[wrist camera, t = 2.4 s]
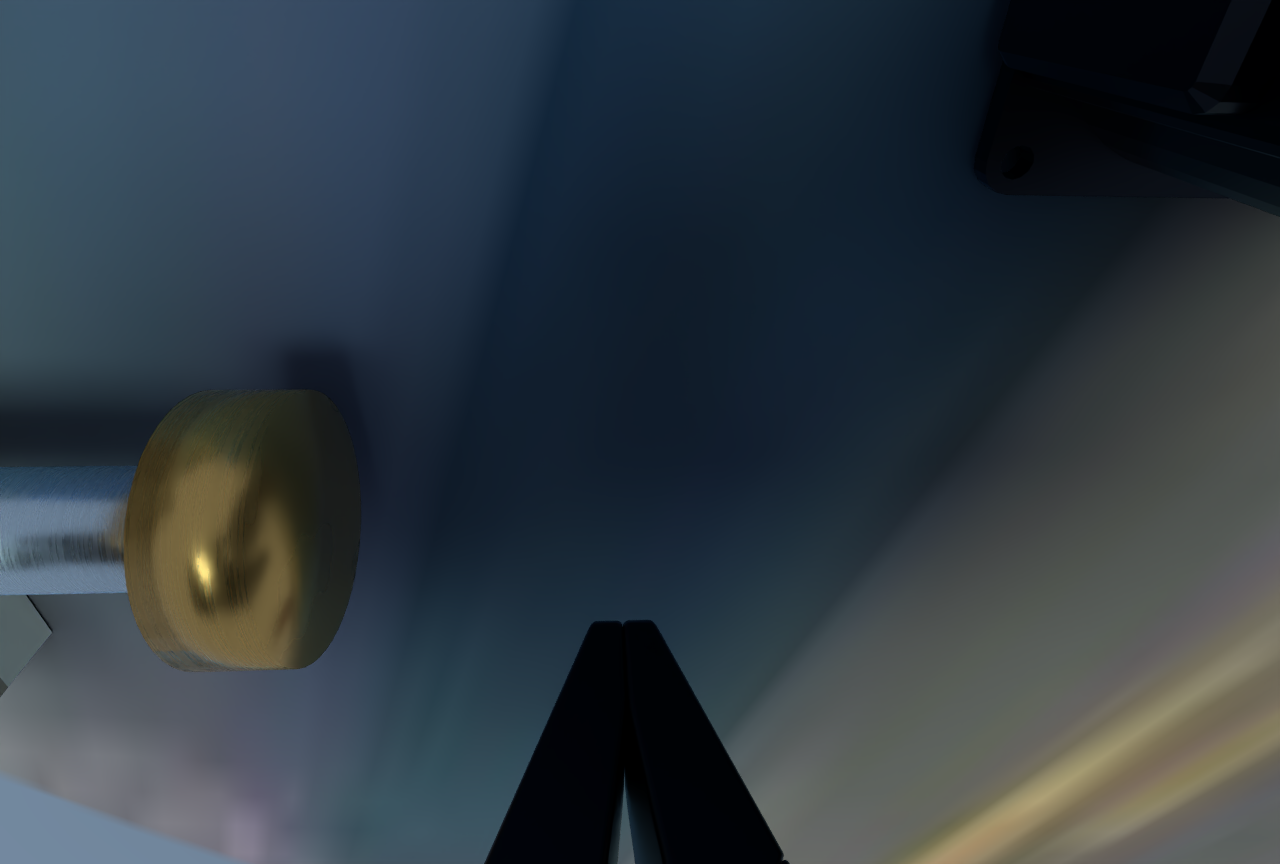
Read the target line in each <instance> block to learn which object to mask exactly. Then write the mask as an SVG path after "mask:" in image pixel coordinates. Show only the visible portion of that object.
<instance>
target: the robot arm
mask: <svg viewBox="0 0 1280 864" xmlns="http://www.w3.org/2000/svg"><path fill="white" fill-rule="evenodd" d="M998 49H999V52H1000V54H1001V56H1002V58H1003V63H1002V67H1001V70H1000V74H999V77H998V80H997V84H996V87H995V91H994V94H993V97H992V101H991V104H990V108H989V111H988V114H987V118H986V121H985V125H984V128H983V131H982V135H981V138H980V142H979V145H978V148H977V152H976V155H975V163H974V170H975V173H976V177H977V179H978V180H979V181H980V182H981V183H982V184H983V185H984V186H986V187H988V188H990V189H991V190H993V191H995V192H997V193H1001V194H1005V195H1046V196H1111V197H1177V198H1231V199H1233V200H1236V201H1239V202H1241V203H1244V204H1247V205H1249V206H1252V207H1255V208H1257V209H1260V210H1263V211H1266V212H1268V213H1271V214H1274V215H1276V216H1279V217H1280V0H1011V2H1010V5H1009V8H1008V12H1007V15H1006V19H1005V22H1004V26H1003V29H1002V33H1001V36H1000V40H999V44H998ZM1018 146H1020V148H1021V154H1020V158H1019V160H1018V162H1017V163H1016V165H1015V166H1014V167H1013V168H1011V169H1010V170H1009V171H1007V172H1003V173H1002V172H1001V165H1002V161H1003V159H1004V157H1005V156H1006V154H1007V153H1008V152H1009V151H1011V150H1012V149H1013V148H1014V147H1018ZM624 773H625V790H626V799H627V807H628V815H629V822H630V829H631V836H632V843H633V850H634V857H635V864H789V862H788V861H787V860H783V857H784V854H783V852H782V850H781V848H780V846H779V844H778V843H777V841H776V839H775V837H774V836H773V834H772V832H771V830H770V828H769V827H768V825H767V823H766V821H765V819H764V818H763V816H762V814H761V812H760V810H759V809H758V807H757V805H756V803H755V801H754V800H753V798H752V796H751V794H750V792H749V791H748V789H747V787H746V785H745V784H744V782H743V780H742V778H741V776H740V775H739V773H738V771H737V769H736V767H735V766H734V764H733V762H732V760H731V758H730V757H729V755H728V753H727V751H726V749H725V748H724V746H723V744H722V742H721V740H720V739H719V737H718V735H717V733H716V732H715V730H714V728H713V726H712V724H711V723H710V721H709V719H708V717H707V715H706V714H705V712H704V710H703V708H702V706H701V705H700V703H699V701H698V699H697V697H696V696H695V694H694V692H693V690H692V688H691V687H690V685H689V683H688V681H687V680H686V678H685V676H684V674H683V672H682V671H681V669H680V667H679V665H678V663H677V662H676V660H675V658H674V656H673V654H672V653H671V651H670V649H669V647H668V645H667V644H666V642H665V640H664V638H663V636H662V635H661V633H660V631H659V629H658V628H657V626H656V624H655V623H654V622H653V621H651V620H628V621H626V622H624V624H623V626H622V624H621V622H619V621H595V622H593V623H592V624H591V625H590V627H589V629H588V631H587V634H586V636H585V638H584V640H583V643H582V645H581V647H580V649H579V652H578V654H577V656H576V658H575V661H574V663H573V665H572V667H571V670H570V672H569V674H568V676H567V679H566V681H565V683H564V685H563V688H562V690H561V692H560V694H559V697H558V699H557V701H556V703H555V706H554V708H553V710H552V712H551V715H550V717H549V719H548V721H547V724H546V726H545V728H544V730H543V733H542V735H541V737H540V739H539V742H538V744H537V746H536V748H535V751H534V753H533V755H532V757H531V760H530V762H529V764H528V766H527V769H526V771H525V773H524V775H523V778H522V780H521V782H520V784H519V787H518V789H517V791H516V793H515V796H514V798H513V800H512V802H511V805H510V807H509V809H508V811H507V814H506V816H505V818H504V820H503V823H502V825H501V827H500V829H499V832H498V834H497V836H496V838H495V841H494V843H493V845H492V847H491V850H490V852H489V854H488V856H487V859H486V861H485V863H484V864H617V862H618V851H619V840H620V829H621V818H622V807H623V791H624ZM782 860H783V861H782Z"/></svg>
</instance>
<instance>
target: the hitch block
mask: <svg viewBox="0 0 1280 864" xmlns="http://www.w3.org/2000/svg"><path fill="white" fill-rule="evenodd" d="M51 633H52V632H51V630H50V629H49V627H48V626H47V624H46V623H45V622H44V620H43V619H42V617H41V616H40V614H39V613H38V612H37V610H36V609H35V607H34V606H33V604H32V603H31V602H30V600H29V599H28V597H27V596H26V595H2V596H0V697H1V696H2V694H3V693H4V692H5V691H6V689H7V688H8V687H9V686H10V684H11V683H12V682H13V681H14V679H15V678H16V677H17V676H18V674H19V673H20V672H21V671H22V669H23V668H24V667H25V666H26V664H27V663H28V662H29V661H30V659H31V658H32V657H33V656H34V655H35V653H36V652H37V651H38V650H39V648H40V647H41V646H42V645H43V643H44V642H45V641H46V640H47V638H48V637H49V636H50V635H51Z"/></svg>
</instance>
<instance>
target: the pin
mask: <svg viewBox="0 0 1280 864" xmlns="http://www.w3.org/2000/svg"><path fill="white" fill-rule="evenodd" d="M360 529H361V497H360V483H359V474H358V467H357V461H356V456H355V451H354V447H353V443H352V440H351V437H350V433H349V431H348V428H347V426H346V423H345V421H344V419H343V417H342V415H341V413H340V411H339V410H338V408H337V407H336V405H335V404H334V403H333V402H332V401H331V400H330V398H328V397H327V396H326V395H324V394H323V393H321V392H319V391H316V390H207V391H200V392H198V393H195V394H193V395H190V396H188V397H187V398H185V399H184V400H182V401H181V402H179V403H178V404H177V405H176V406H175V407H174V408H172V409H171V410H170V411H169V412H168V413H167V415H166V416H165V417H164V418H163V420H162V421H161V422H160V423H159V424H158V426H157V428H156V429H155V431H154V433H153V434H152V436H151V437H150V439H149V441H148V443H147V445H146V447H145V449H144V451H143V454H142V456H141V458H140V461H139V464H138V466H51V467H0V596H2V595H47V594H92V593H128V596H129V601H130V605H131V608H132V611H133V614H134V617H135V620H136V623H137V625H138V627H139V629H140V631H141V633H142V635H143V637H144V639H145V641H146V642H147V644H148V645H149V646H150V648H151V649H152V651H153V652H154V653H155V654H156V655H157V656H158V657H159V658H160V659H161V660H162V661H163V662H165V663H167V664H168V665H170V666H171V667H173V668H176V669H178V670H181V671H187V672H215V671H249V670H283V669H300V668H304V667H306V666H308V665H310V664H312V663H313V662H315V661H316V660H317V659H318V658H319V657H320V656H321V655H322V654H323V653H324V651H325V650H326V649H327V648H328V646H329V645H330V643H331V641H332V640H333V638H334V636H335V634H336V632H337V630H338V628H339V626H340V624H341V621H342V619H343V617H344V614H345V611H346V608H347V605H348V602H349V598H350V595H351V591H352V587H353V582H354V578H355V572H356V567H357V561H358V552H359V543H360Z"/></svg>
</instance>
